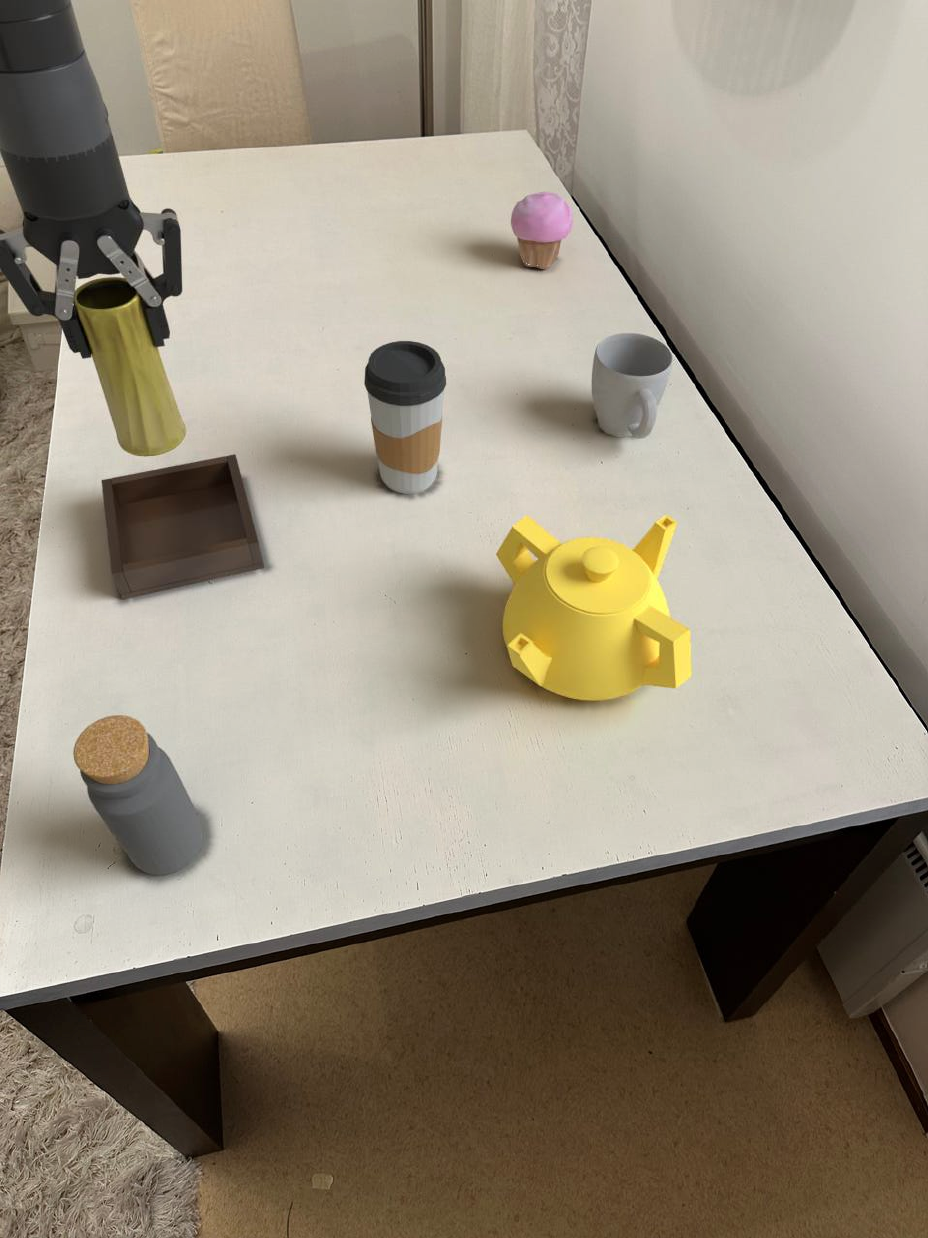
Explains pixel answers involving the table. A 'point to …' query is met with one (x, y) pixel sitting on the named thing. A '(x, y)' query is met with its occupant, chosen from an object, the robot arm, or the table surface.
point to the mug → (629, 383)
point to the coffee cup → (406, 413)
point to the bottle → (139, 795)
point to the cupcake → (541, 227)
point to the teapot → (592, 613)
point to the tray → (179, 526)
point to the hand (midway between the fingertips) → (123, 346)
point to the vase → (129, 367)
